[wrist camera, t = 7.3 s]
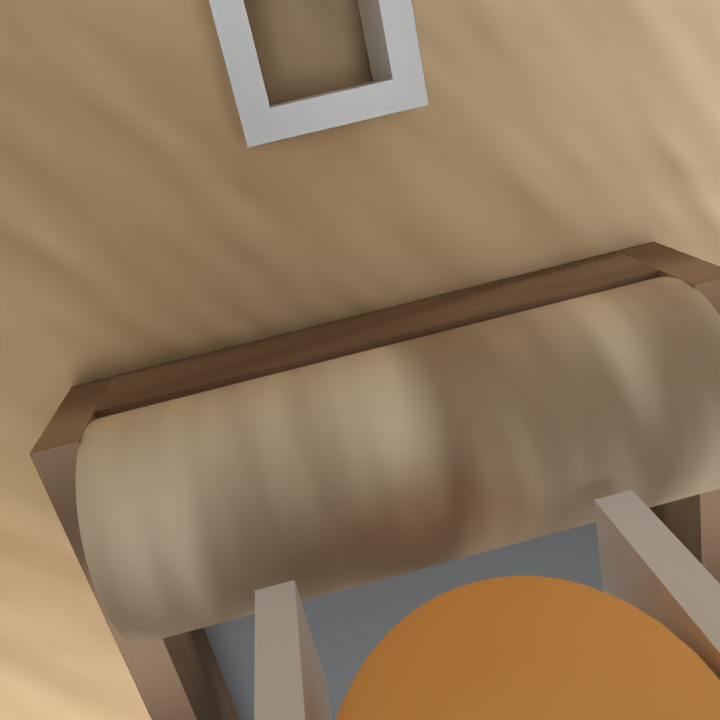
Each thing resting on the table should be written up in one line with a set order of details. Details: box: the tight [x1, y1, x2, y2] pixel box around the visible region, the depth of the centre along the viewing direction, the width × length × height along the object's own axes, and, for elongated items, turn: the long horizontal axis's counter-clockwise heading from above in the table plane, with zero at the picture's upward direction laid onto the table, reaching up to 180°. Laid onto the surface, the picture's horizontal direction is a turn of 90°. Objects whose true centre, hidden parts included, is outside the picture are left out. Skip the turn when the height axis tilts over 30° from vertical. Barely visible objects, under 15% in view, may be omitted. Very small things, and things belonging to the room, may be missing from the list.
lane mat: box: [204, 522, 603, 720], centre depth 20 cm, size 17×15×1 cm
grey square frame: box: [209, 0, 428, 147], centre depth 14 cm, size 4×4×2 cm
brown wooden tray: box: [30, 242, 720, 720], centre depth 18 cm, size 17×15×6 cm
